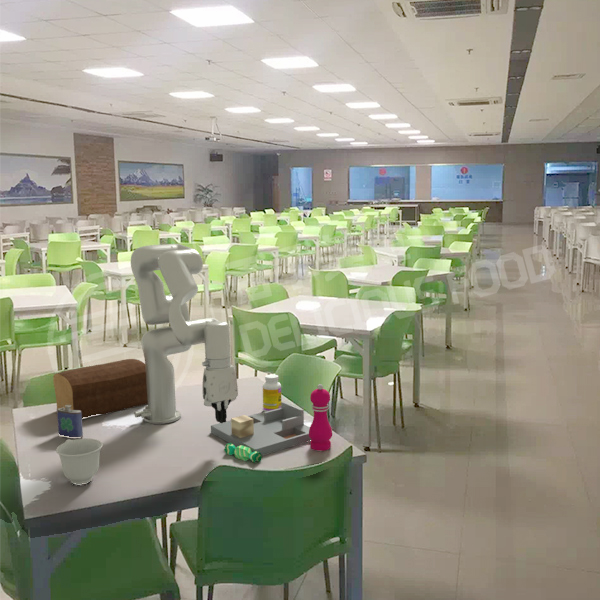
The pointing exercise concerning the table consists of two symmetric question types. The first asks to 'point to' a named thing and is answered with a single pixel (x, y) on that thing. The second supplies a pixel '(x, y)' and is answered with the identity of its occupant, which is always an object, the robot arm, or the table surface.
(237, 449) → the candy
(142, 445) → the table surface
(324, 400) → the pepper mill
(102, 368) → the bread
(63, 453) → the teacup
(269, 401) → the supplement bottle
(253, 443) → the plate
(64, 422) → the flask
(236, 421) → the block
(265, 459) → the table surface
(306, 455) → the table surface
